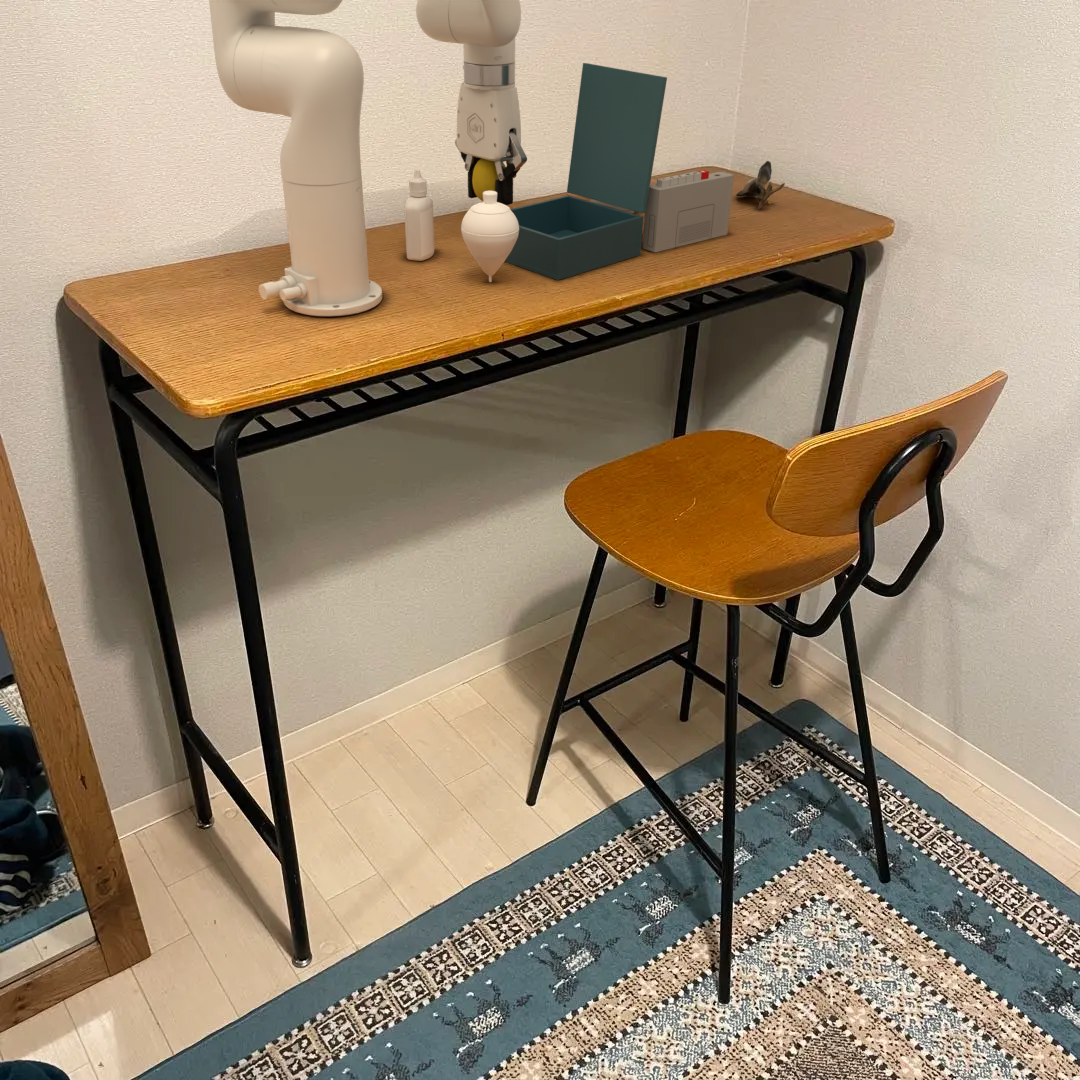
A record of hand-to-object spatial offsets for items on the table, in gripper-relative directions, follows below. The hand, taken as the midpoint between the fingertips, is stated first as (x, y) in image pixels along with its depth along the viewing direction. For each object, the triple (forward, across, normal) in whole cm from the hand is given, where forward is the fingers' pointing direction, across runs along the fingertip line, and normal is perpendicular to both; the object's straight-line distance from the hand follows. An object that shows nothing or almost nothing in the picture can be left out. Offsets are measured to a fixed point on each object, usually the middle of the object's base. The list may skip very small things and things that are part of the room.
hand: (490, 199), depth 162 cm
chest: (+4, +18, -2) cm, 19 cm away
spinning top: (+4, +20, -18) cm, 27 cm away
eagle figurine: (+4, +20, +43) cm, 48 cm away
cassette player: (+4, +26, +17) cm, 31 cm away
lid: (-11, +18, +7) cm, 22 cm away
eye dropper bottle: (+4, +5, -18) cm, 19 cm away
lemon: (+1, 0, 0) cm, 1 cm away
